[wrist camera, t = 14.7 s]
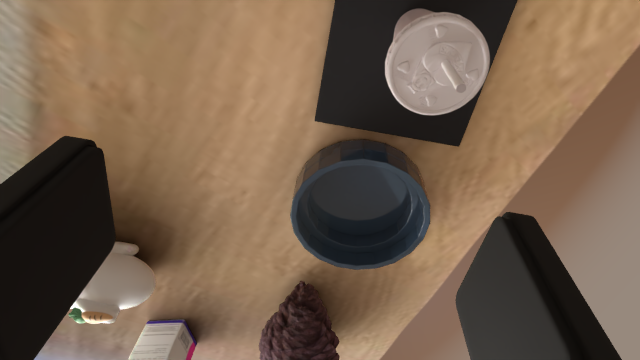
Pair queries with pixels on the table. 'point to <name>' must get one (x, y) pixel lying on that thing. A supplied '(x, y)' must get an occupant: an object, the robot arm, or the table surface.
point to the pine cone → (299, 329)
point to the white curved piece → (115, 286)
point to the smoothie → (436, 61)
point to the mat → (369, 67)
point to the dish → (360, 205)
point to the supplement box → (164, 341)
